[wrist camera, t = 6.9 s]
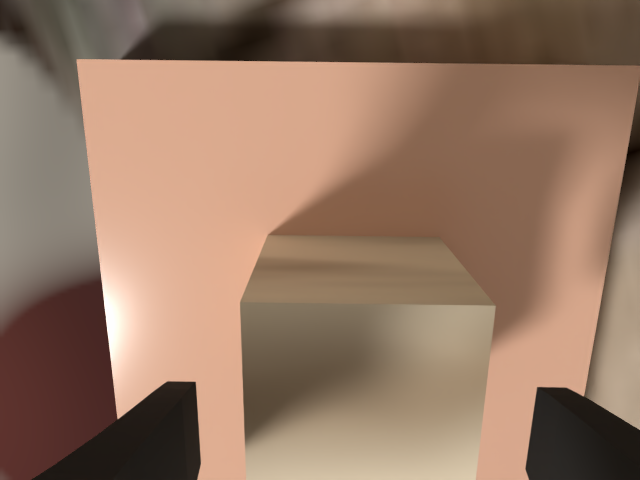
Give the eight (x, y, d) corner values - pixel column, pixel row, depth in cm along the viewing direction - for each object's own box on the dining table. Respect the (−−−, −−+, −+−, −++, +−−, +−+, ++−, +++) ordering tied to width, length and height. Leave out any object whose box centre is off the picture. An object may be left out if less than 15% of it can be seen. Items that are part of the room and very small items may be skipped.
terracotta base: (532, 471, 20) (561, 523, 17) (152, 466, 20) (128, 516, 17) (593, 70, 16) (642, 65, 13) (114, 65, 16) (76, 59, 13)
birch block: (427, 388, 16) (471, 513, 11) (270, 386, 16) (247, 510, 11) (439, 237, 15) (495, 305, 10) (267, 234, 15) (239, 302, 10)
